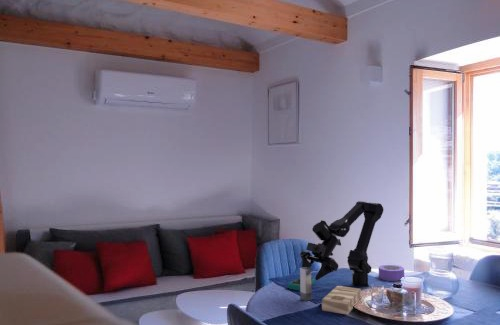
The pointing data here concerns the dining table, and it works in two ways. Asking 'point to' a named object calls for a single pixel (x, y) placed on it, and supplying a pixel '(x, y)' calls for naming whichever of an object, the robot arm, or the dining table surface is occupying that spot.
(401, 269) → the tape roll
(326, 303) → the socket block
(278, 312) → the dining table surface
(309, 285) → the square bit
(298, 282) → the digital multimeter
